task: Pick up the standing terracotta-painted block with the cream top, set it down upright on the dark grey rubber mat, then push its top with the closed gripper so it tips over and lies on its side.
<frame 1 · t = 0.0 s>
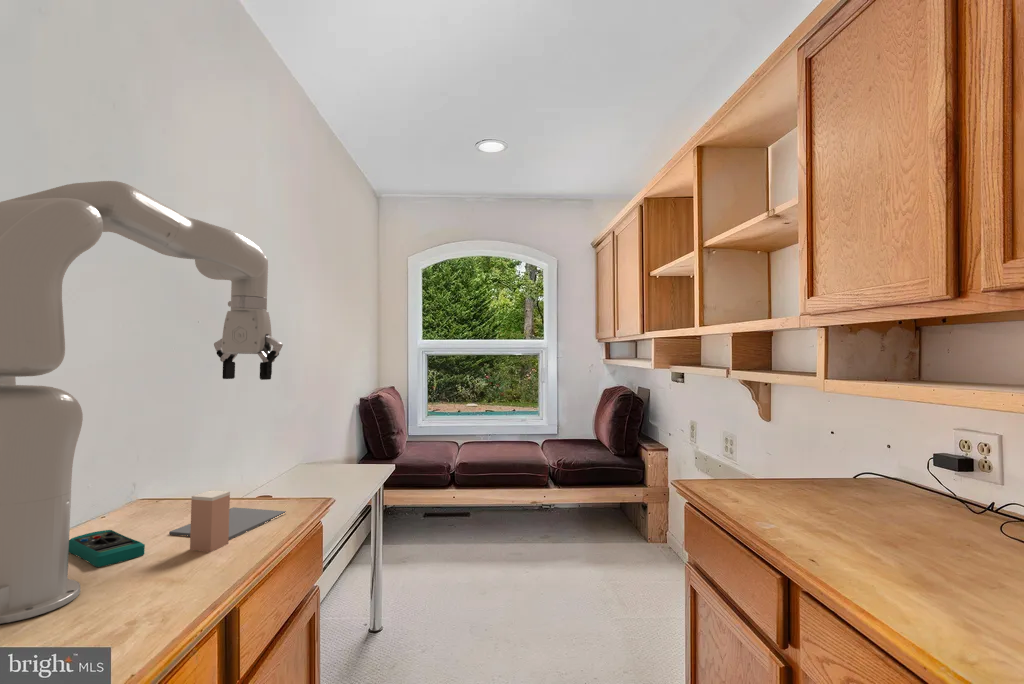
hand: (246, 379, 120), 31 cm above the counter, tool pointing down, fingers open, 9 cm apart
digital multimeter: (104, 556, 95), on the counter
mat: (231, 523, 113), on the counter
block: (209, 546, 99), on the counter
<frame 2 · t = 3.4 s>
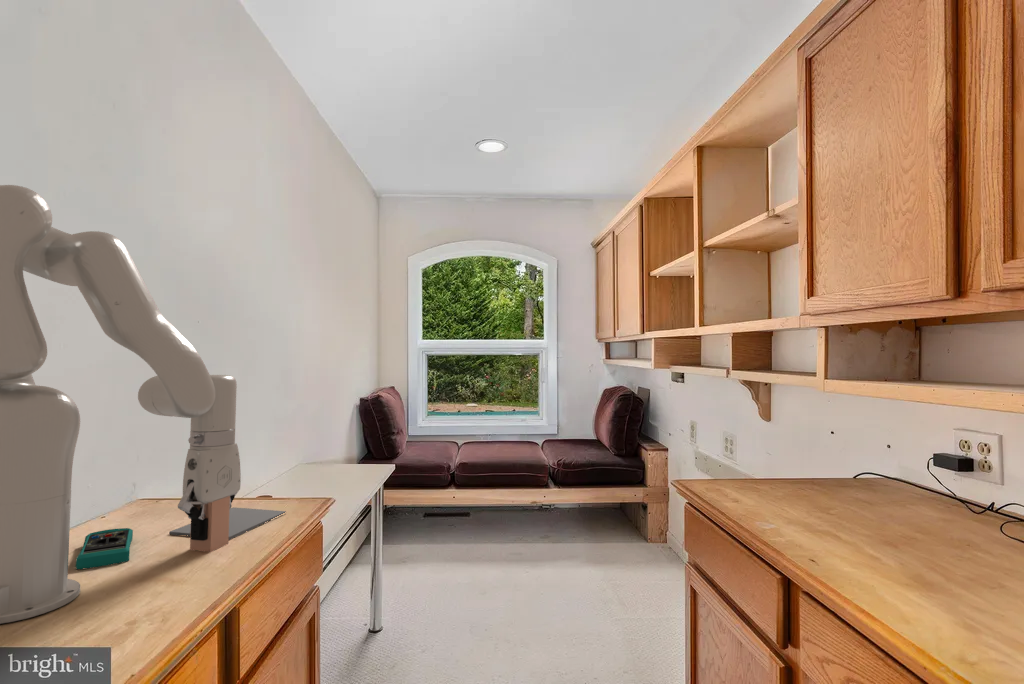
hand: (209, 534, 99), 2 cm above the counter, tool pointing down, fingers closed on block, 4 cm apart
block: (209, 546, 99), on the counter, touching gripper
when the fingers open (4 cm above the counter, at t = 8.8 s): block stays where it is, resting on mat.
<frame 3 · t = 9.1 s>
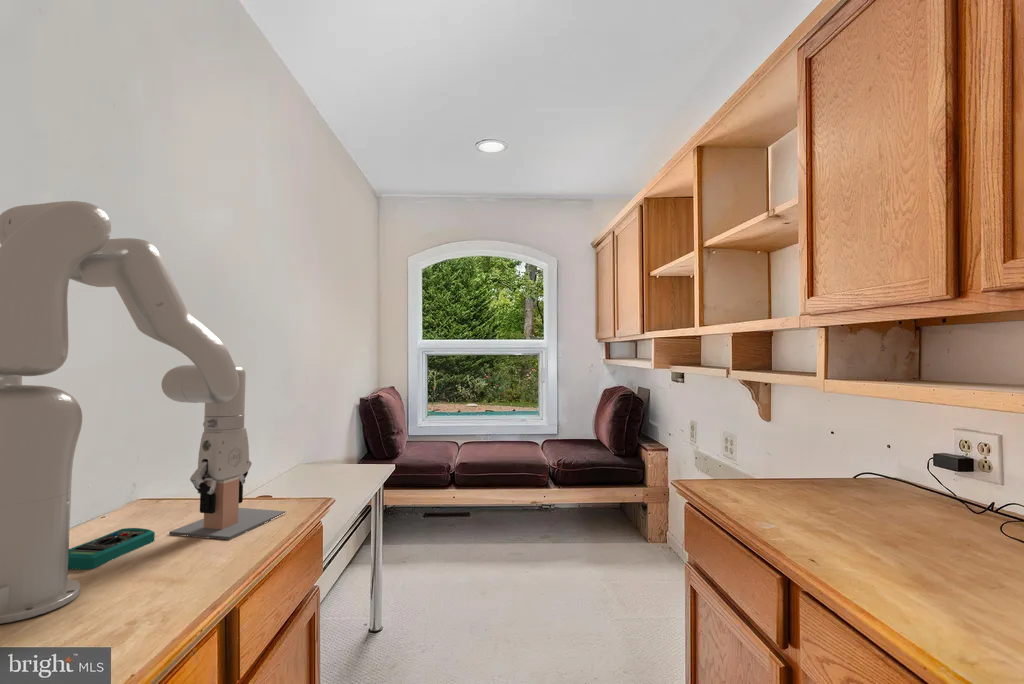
hand: (221, 506, 110), 4 cm above the counter, tool pointing down, fingers open, 7 cm apart
block: (221, 525, 110), point 1 cm above the counter, touching mat
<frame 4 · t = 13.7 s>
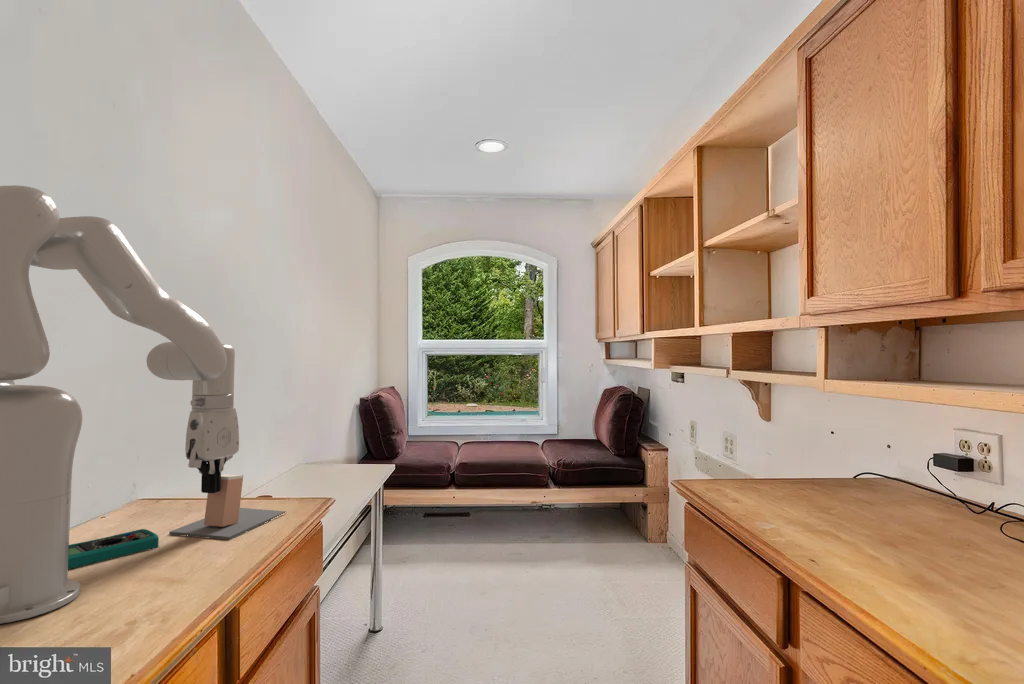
hand: (210, 491, 107), 8 cm above the counter, tool pointing down, fingers closed
block: (221, 523, 110), point 1 cm above the counter, tilted 7°, touching mat
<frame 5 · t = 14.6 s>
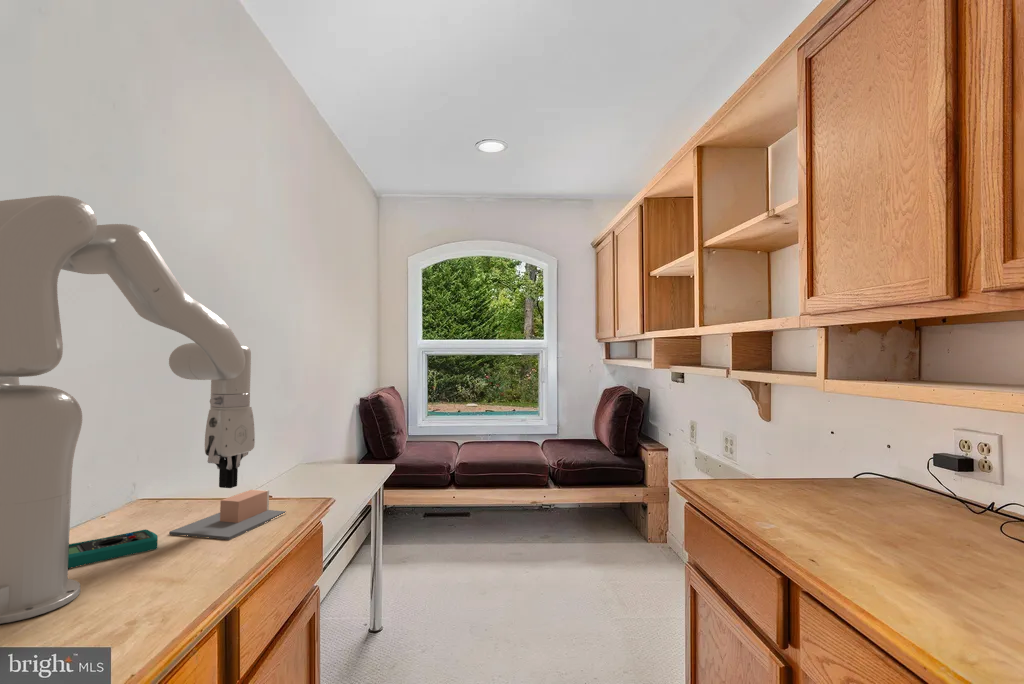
hand: (228, 486, 112), 8 cm above the counter, tool pointing down, fingers closed
block: (229, 511, 112), point 3 cm above the counter, tilted 90°, touching mat
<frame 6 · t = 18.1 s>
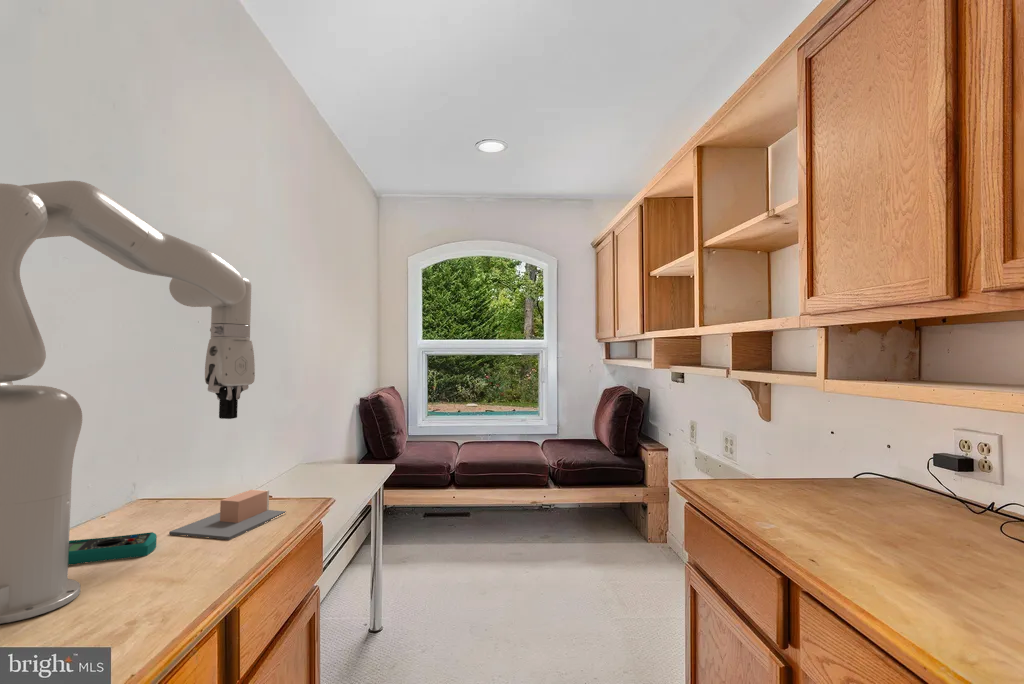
hand: (228, 418, 112), 23 cm above the counter, tool pointing down, fingers closed
at the end: block tilted 90°; block inside the target area (3.3 cm from its centre), point 2.8 cm above the counter; the gripper is holding nothing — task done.
